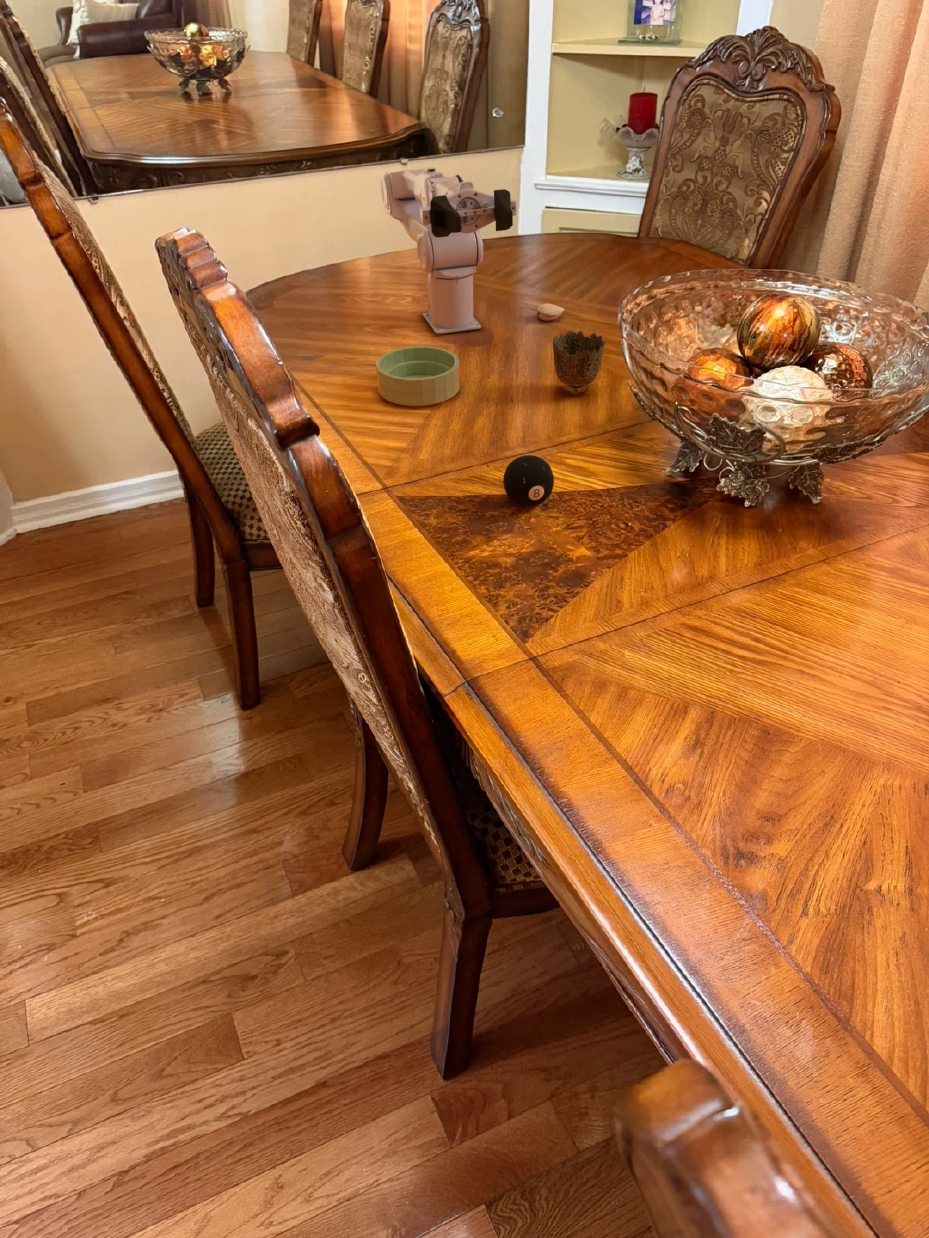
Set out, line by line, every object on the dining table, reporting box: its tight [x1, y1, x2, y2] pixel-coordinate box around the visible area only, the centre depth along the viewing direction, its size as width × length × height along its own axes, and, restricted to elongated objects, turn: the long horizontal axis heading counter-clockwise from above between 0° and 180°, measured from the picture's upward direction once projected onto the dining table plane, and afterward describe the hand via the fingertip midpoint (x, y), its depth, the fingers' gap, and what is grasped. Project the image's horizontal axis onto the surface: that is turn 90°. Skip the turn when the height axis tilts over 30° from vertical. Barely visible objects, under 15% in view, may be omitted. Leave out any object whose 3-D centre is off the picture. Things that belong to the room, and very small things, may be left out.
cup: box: [552, 330, 606, 397], centre depth 130 cm, size 8×7×8 cm
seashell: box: [536, 303, 565, 322], centre depth 155 cm, size 4×5×2 cm
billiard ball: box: [502, 454, 555, 508], centre depth 107 cm, size 6×6×6 cm
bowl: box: [375, 345, 461, 407], centre depth 132 cm, size 12×12×4 cm
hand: (484, 221), depth 126 cm, fingers open, 7 cm apart
